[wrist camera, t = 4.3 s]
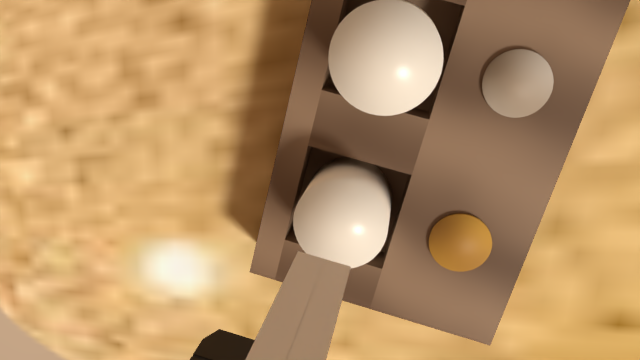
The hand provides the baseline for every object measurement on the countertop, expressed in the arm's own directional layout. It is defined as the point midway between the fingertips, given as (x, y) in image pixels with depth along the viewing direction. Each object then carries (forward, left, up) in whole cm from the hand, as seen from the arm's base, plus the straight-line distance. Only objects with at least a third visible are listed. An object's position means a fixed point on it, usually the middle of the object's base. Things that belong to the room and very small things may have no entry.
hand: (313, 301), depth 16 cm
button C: (+2, 0, -15) cm, 15 cm away
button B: (-6, 0, -13) cm, 14 cm away
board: (-6, +2, -16) cm, 17 cm away
